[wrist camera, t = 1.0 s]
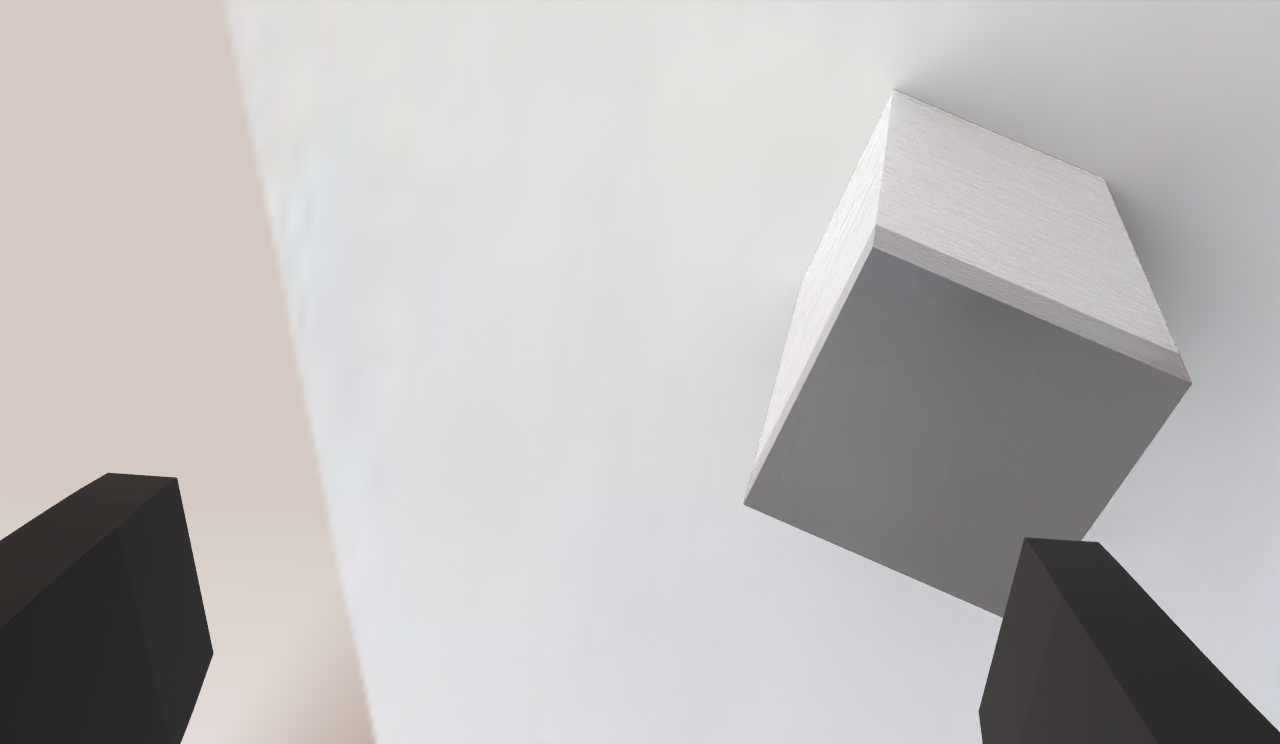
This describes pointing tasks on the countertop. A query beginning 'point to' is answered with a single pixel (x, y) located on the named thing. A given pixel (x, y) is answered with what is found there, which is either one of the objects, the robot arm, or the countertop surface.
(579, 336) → the countertop surface
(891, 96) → the peg
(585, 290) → the countertop surface
